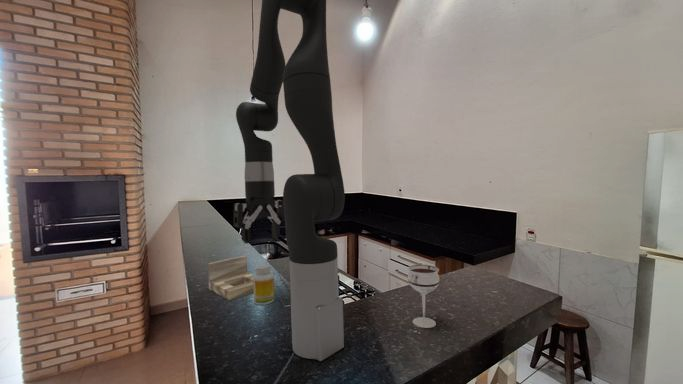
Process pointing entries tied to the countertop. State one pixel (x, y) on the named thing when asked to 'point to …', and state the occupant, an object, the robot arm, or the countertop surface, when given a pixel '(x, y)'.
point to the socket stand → (230, 277)
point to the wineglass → (423, 288)
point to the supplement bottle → (263, 285)
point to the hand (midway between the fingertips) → (261, 240)
